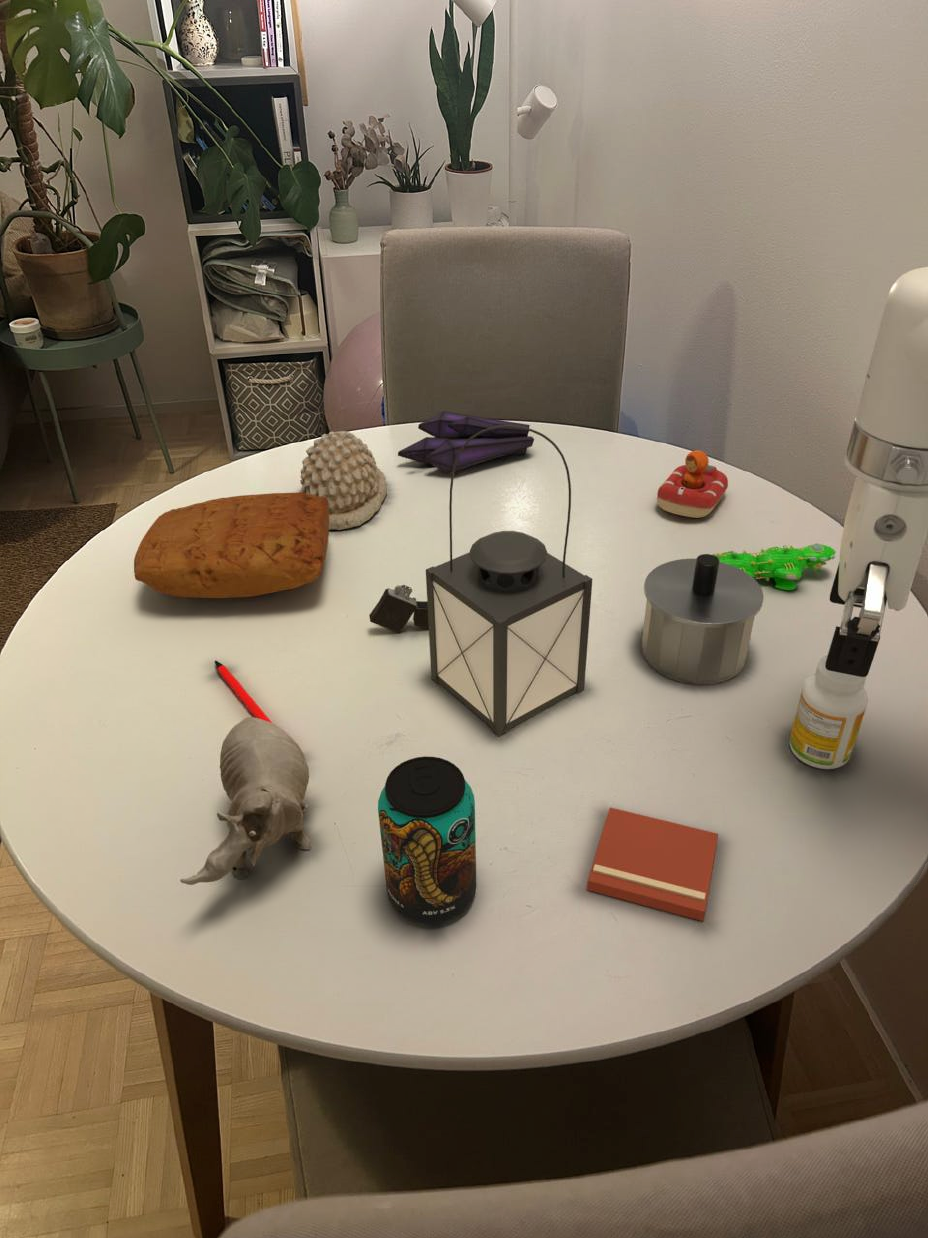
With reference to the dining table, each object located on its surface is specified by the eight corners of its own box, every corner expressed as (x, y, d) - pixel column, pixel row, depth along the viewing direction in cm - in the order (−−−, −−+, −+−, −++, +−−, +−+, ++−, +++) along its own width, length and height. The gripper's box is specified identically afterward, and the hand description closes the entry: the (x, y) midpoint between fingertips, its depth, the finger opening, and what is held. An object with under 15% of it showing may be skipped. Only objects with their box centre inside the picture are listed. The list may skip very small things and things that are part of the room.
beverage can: (391, 935, 69) (379, 828, 62) (383, 862, 74) (372, 756, 67) (483, 922, 70) (482, 814, 62) (468, 850, 75) (466, 744, 68)
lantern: (585, 690, 91) (606, 428, 75) (498, 738, 86) (500, 467, 69) (513, 637, 99) (518, 388, 82) (429, 679, 93) (416, 421, 77)
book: (716, 843, 75) (719, 831, 74) (703, 921, 69) (705, 909, 68) (608, 816, 78) (610, 804, 77) (586, 890, 72) (587, 878, 71)
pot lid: (766, 577, 94) (774, 539, 92) (755, 642, 86) (764, 602, 83) (654, 559, 98) (658, 522, 95) (633, 620, 89) (637, 580, 86)
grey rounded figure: (333, 730, 83) (285, 691, 69) (333, 886, 79) (282, 879, 65) (250, 735, 84) (186, 698, 70) (246, 890, 80) (176, 884, 66)
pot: (750, 633, 98) (762, 574, 94) (739, 694, 90) (752, 633, 86) (651, 615, 101) (658, 557, 97) (633, 672, 93) (639, 613, 89)
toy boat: (647, 516, 119) (653, 463, 114) (677, 480, 127) (683, 429, 123) (704, 530, 116) (712, 476, 111) (730, 491, 124) (739, 440, 119)
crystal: (527, 398, 135) (393, 400, 132) (546, 438, 127) (404, 441, 123) (521, 440, 140) (391, 443, 136) (539, 481, 132) (402, 486, 128)
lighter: (431, 635, 103) (454, 601, 101) (433, 646, 101) (457, 612, 99) (368, 611, 100) (391, 575, 97) (370, 622, 98) (393, 585, 96)
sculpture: (395, 473, 130) (390, 406, 125) (373, 533, 117) (367, 462, 111) (313, 470, 132) (305, 404, 126) (282, 529, 118) (271, 459, 112)
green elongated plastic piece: (842, 587, 105) (851, 555, 102) (692, 604, 103) (697, 572, 100) (816, 557, 110) (823, 526, 108) (672, 572, 108) (676, 541, 106)
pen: (297, 770, 83) (295, 761, 82) (211, 665, 95) (209, 657, 95) (305, 766, 83) (304, 757, 82) (219, 662, 96) (217, 654, 95)
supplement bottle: (829, 725, 86) (852, 644, 81) (862, 764, 82) (889, 681, 76) (777, 735, 85) (797, 653, 80) (808, 776, 81) (831, 692, 75)
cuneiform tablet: (343, 539, 116) (336, 482, 111) (324, 618, 102) (316, 557, 97) (170, 541, 116) (157, 484, 112) (129, 619, 103) (111, 559, 98)
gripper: (969, 515, 59) (896, 712, 69) (952, 409, 72) (892, 588, 82) (846, 497, 61) (793, 691, 71) (850, 397, 74) (805, 573, 84)
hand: (846, 636), depth 76 cm, fingers open, 9 cm apart
